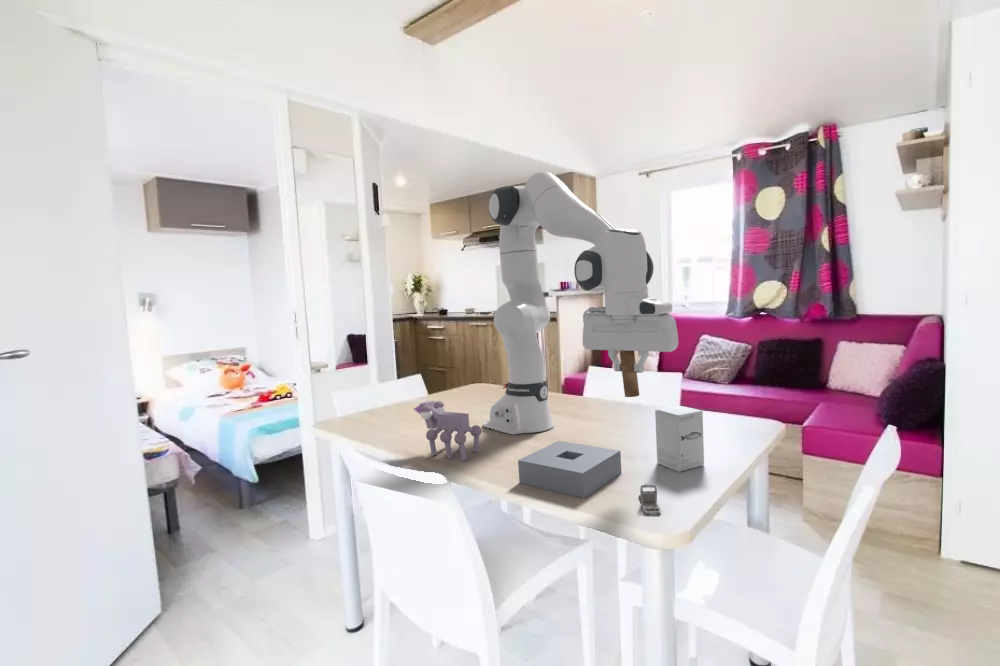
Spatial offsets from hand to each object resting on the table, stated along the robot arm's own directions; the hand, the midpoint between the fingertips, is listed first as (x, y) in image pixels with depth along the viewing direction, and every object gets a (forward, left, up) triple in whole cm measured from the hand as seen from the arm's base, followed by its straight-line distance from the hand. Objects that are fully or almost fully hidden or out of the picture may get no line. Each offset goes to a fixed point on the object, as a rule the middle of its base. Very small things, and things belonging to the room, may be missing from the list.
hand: (629, 371), depth 106 cm
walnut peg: (+1, 0, -5) cm, 5 cm away
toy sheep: (-50, -8, -23) cm, 56 cm away
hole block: (-11, -7, -23) cm, 26 cm away
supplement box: (+6, +12, -23) cm, 26 cm away
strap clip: (+9, -12, -23) cm, 27 cm away
